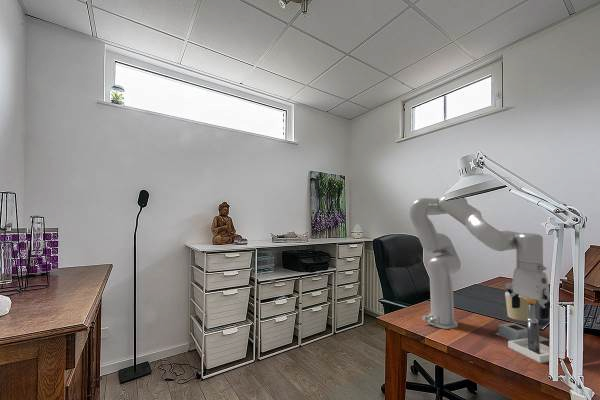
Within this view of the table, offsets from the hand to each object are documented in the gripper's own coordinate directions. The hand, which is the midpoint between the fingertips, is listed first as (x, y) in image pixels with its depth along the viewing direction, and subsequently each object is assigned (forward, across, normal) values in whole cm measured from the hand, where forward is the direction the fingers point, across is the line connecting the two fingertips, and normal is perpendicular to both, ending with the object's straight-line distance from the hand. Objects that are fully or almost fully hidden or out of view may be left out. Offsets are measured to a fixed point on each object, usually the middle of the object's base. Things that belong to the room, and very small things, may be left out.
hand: (529, 312), depth 98 cm
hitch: (+15, +10, -9) cm, 20 cm away
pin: (+14, -1, -1) cm, 14 cm away
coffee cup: (+16, +26, -28) cm, 41 cm away
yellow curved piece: (+1, +15, -19) cm, 24 cm away
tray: (+15, -1, 0) cm, 15 cm away
